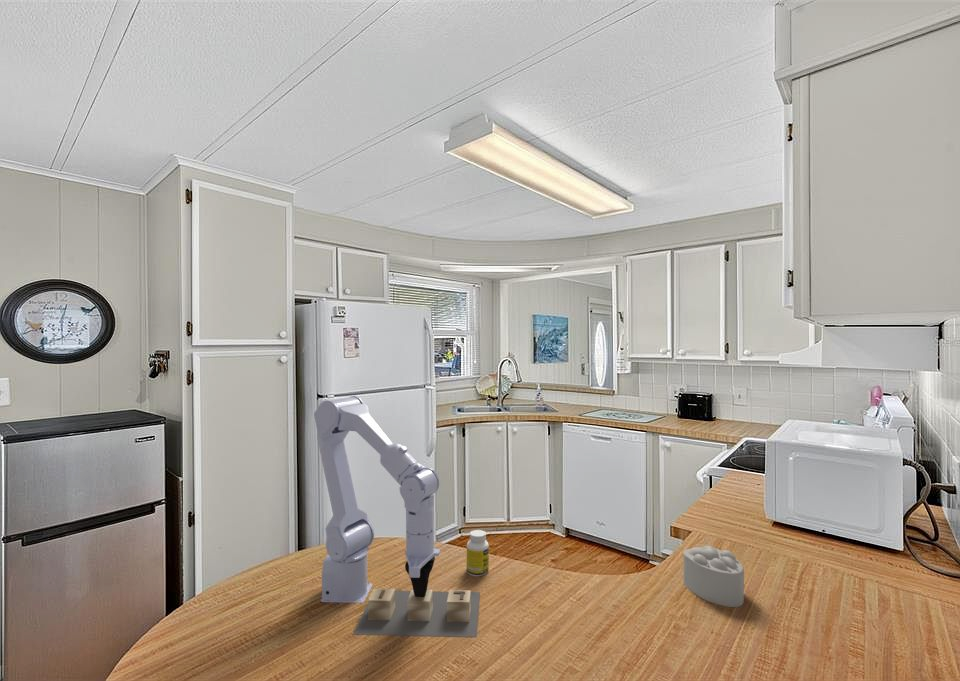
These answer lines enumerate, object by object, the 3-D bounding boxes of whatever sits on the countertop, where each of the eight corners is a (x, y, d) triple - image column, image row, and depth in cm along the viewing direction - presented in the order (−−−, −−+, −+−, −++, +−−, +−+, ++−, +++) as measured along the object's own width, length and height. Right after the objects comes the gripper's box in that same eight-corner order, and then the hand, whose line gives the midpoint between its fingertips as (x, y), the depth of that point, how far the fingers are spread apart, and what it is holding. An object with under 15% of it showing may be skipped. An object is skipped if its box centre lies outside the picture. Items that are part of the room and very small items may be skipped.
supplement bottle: (486, 579, 115) (486, 538, 115) (464, 577, 116) (464, 536, 116) (490, 568, 120) (490, 529, 120) (469, 566, 121) (469, 527, 121)
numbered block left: (368, 619, 98) (368, 599, 98) (374, 607, 102) (373, 587, 102) (390, 620, 97) (390, 599, 97) (395, 607, 102) (395, 588, 102)
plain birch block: (407, 620, 97) (407, 601, 97) (411, 608, 102) (411, 589, 102) (429, 621, 97) (429, 601, 97) (432, 608, 102) (432, 589, 102)
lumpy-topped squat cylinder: (713, 574, 117) (713, 539, 117) (757, 603, 105) (757, 563, 104) (676, 580, 114) (676, 544, 114) (717, 610, 102) (717, 570, 102)
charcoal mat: (352, 637, 93) (352, 634, 93) (374, 592, 109) (374, 590, 109) (477, 640, 92) (477, 637, 92) (480, 594, 108) (480, 592, 108)
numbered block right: (447, 621, 97) (446, 601, 97) (449, 608, 102) (449, 589, 101) (469, 622, 97) (469, 601, 97) (470, 609, 101) (470, 589, 101)
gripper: (434, 545, 92) (435, 615, 92) (443, 516, 106) (443, 577, 107) (398, 544, 92) (398, 615, 92) (411, 516, 107) (412, 577, 107)
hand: (420, 595), depth 99 cm, fingers closed
